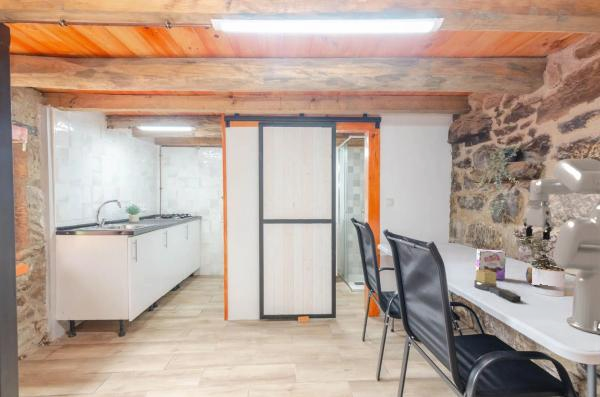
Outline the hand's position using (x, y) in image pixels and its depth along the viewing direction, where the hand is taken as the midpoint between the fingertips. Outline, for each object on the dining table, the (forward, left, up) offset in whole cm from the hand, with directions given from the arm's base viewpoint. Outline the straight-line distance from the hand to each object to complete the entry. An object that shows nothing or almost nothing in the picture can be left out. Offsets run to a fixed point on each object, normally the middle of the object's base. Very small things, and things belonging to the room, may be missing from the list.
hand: (537, 238), depth 151 cm
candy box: (+26, +4, -29) cm, 39 cm away
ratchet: (+1, +20, -28) cm, 35 cm away
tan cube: (+9, +20, -25) cm, 33 cm away
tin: (+14, -13, -29) cm, 34 cm away
